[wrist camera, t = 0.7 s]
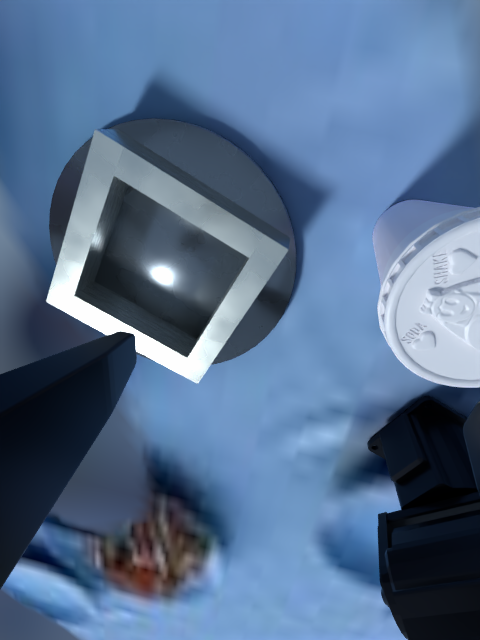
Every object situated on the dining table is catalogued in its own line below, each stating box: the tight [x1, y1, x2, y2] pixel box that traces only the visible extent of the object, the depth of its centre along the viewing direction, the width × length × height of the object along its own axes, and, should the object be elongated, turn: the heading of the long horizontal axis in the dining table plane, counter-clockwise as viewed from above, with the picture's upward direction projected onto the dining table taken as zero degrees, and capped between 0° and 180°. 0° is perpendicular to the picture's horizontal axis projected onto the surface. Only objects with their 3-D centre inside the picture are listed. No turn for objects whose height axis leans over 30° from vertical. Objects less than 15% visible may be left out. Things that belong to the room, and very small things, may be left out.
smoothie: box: [373, 200, 480, 388], centre depth 13 cm, size 6×6×14 cm
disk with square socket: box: [46, 119, 296, 384], centre depth 21 cm, size 16×16×3 cm
